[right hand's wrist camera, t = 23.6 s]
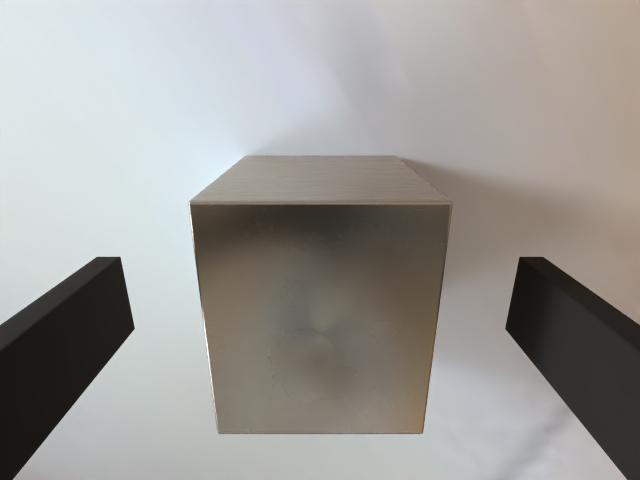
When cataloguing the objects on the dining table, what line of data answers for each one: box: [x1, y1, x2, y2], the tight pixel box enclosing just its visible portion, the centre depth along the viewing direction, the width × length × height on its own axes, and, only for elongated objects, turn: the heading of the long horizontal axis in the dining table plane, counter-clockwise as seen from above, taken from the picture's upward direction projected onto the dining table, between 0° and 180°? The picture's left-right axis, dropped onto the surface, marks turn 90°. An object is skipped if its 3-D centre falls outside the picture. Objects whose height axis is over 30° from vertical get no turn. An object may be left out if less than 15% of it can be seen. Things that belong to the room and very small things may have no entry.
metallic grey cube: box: [188, 156, 452, 434], centre depth 14 cm, size 6×7×7 cm
